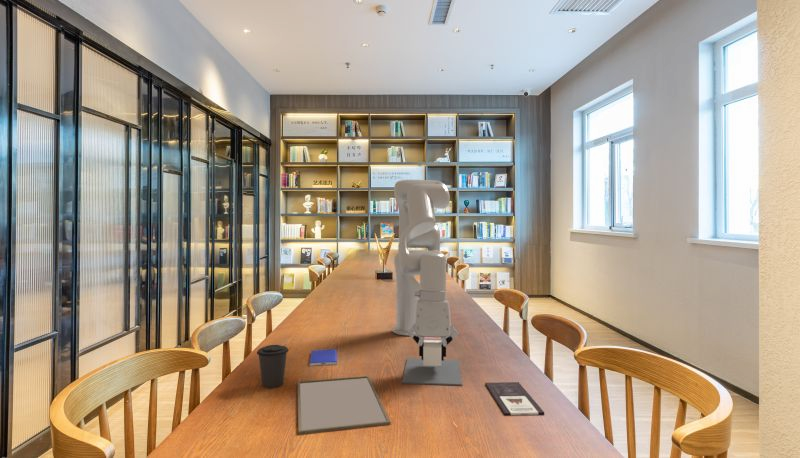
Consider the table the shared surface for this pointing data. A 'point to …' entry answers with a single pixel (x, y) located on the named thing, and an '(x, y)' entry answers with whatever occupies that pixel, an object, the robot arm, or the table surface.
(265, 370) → the coffee cup
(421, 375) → the mat
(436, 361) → the card box
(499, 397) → the chocolate bar
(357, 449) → the table surface
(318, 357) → the hard drive
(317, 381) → the picture frame
